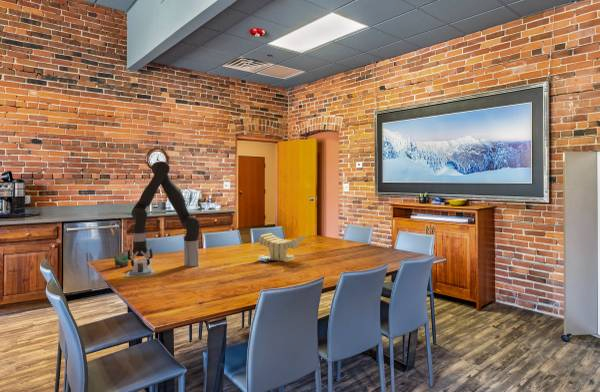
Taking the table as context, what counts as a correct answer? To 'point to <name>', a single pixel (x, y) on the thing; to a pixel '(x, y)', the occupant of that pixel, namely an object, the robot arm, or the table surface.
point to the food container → (121, 259)
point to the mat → (142, 275)
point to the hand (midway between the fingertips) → (140, 265)
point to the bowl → (142, 260)
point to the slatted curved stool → (279, 246)
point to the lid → (140, 271)
